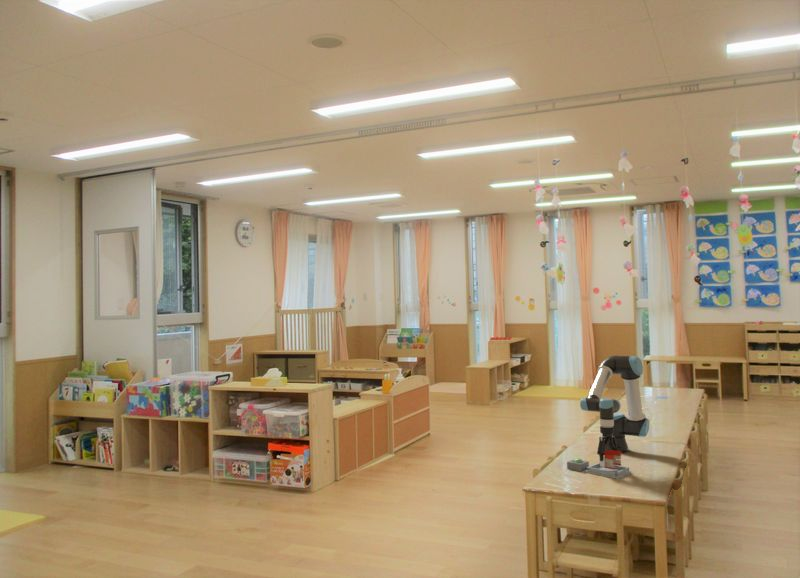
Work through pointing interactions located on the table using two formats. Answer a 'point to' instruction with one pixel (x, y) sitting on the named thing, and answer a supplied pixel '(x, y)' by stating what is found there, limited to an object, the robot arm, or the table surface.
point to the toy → (612, 458)
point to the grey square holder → (577, 465)
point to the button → (578, 460)
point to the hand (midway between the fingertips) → (607, 464)
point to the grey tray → (608, 471)
